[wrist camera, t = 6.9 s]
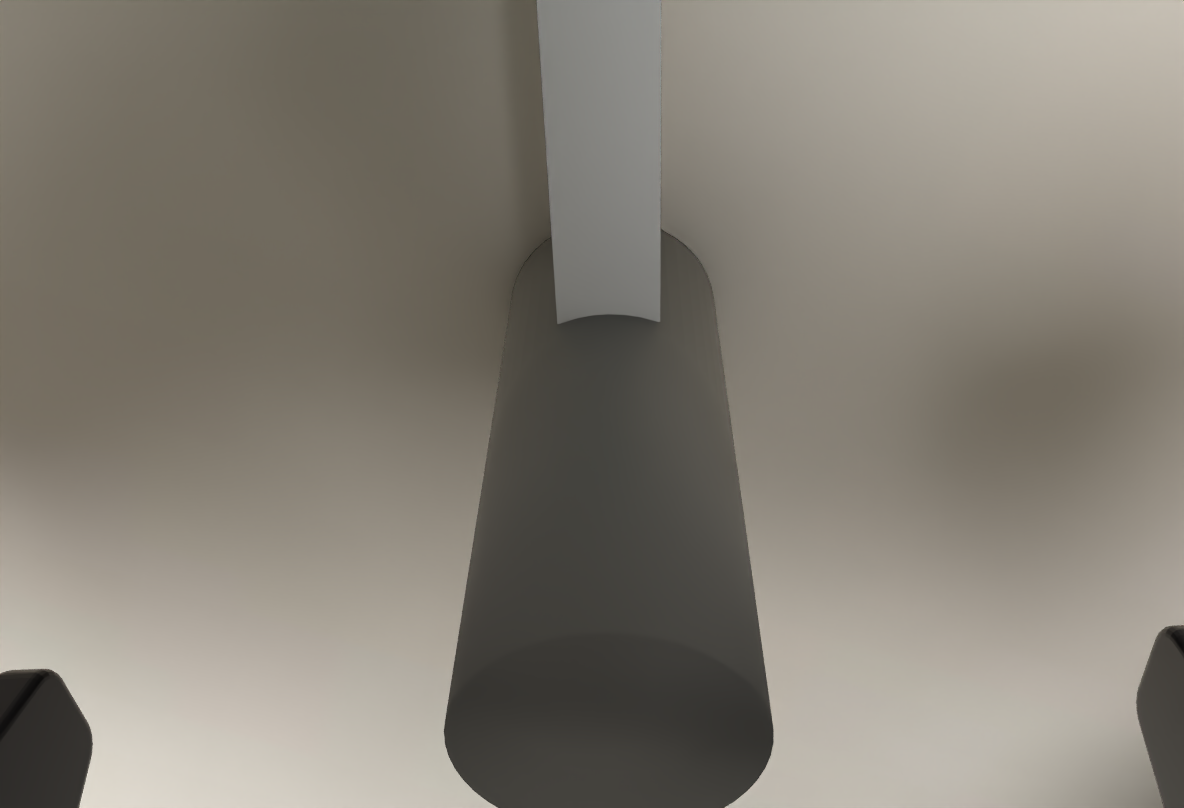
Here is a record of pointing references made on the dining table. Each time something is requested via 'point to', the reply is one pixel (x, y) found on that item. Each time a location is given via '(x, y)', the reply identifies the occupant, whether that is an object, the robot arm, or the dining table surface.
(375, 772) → the dining table surface
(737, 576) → the block
